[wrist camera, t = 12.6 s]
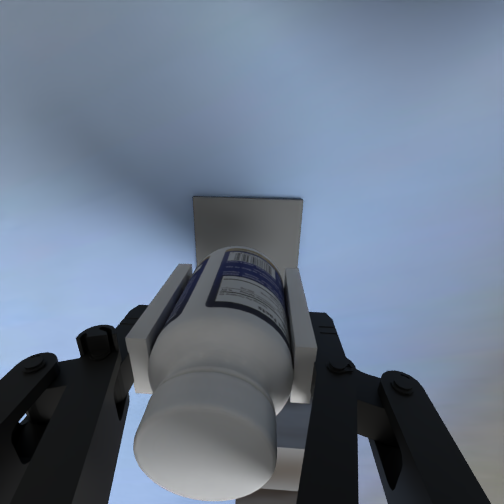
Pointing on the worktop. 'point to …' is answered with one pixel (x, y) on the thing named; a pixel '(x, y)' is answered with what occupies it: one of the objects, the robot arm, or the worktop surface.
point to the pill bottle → (218, 381)
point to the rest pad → (249, 227)
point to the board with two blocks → (285, 457)
